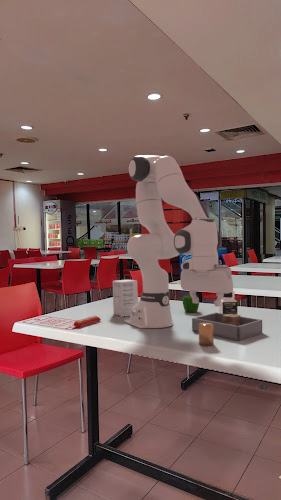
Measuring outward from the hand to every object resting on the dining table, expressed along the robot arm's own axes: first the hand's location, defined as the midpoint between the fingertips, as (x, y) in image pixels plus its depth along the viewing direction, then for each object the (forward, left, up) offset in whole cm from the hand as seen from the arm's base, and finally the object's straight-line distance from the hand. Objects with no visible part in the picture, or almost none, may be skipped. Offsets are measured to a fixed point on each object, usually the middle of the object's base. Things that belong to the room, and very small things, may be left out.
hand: (206, 304), depth 127 cm
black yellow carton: (-24, +47, -14) cm, 55 cm away
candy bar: (-57, -11, -14) cm, 60 cm away
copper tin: (0, 0, -14) cm, 14 cm away
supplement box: (-61, +14, -14) cm, 64 cm away
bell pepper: (-42, +41, -14) cm, 61 cm away
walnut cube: (-6, +23, -13) cm, 27 cm away
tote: (-6, +19, -14) cm, 24 cm away
